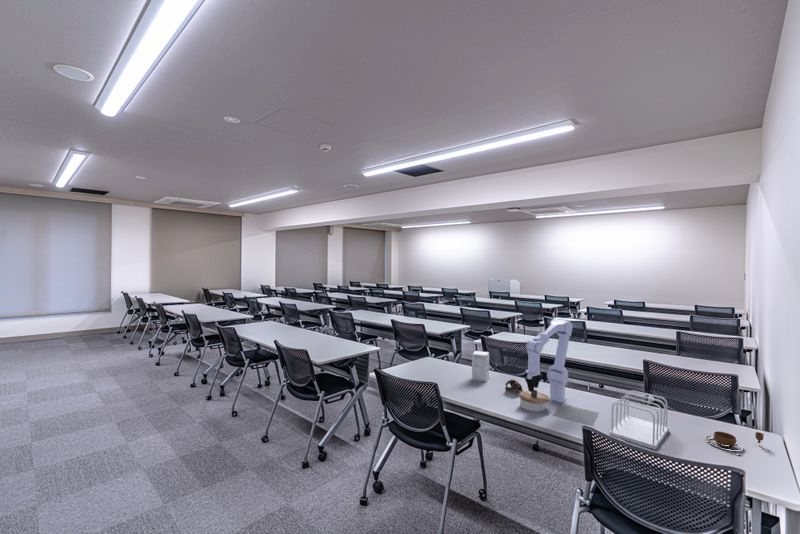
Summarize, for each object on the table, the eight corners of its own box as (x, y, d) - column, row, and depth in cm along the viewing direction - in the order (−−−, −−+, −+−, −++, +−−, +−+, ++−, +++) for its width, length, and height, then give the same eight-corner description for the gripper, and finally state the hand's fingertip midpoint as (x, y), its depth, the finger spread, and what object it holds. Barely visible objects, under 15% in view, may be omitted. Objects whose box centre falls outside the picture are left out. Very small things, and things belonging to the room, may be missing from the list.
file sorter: (626, 419, 181) (627, 387, 181) (669, 431, 168) (670, 397, 168) (608, 435, 164) (609, 400, 163) (655, 450, 151) (656, 413, 151)
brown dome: (526, 396, 210) (520, 385, 208) (510, 402, 212) (505, 391, 210) (520, 384, 221) (515, 373, 220) (505, 390, 223) (500, 379, 221)
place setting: (702, 434, 167) (702, 421, 167) (761, 446, 157) (762, 432, 157) (711, 451, 152) (711, 437, 152) (777, 465, 142) (778, 450, 142)
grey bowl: (525, 400, 202) (525, 391, 202) (547, 406, 195) (548, 397, 195) (517, 407, 192) (517, 398, 192) (541, 413, 185) (541, 404, 185)
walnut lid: (527, 390, 204) (527, 383, 204) (554, 398, 193) (554, 391, 193) (513, 397, 193) (513, 390, 193) (541, 405, 183) (541, 398, 182)
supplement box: (489, 377, 240) (489, 352, 240) (486, 382, 232) (487, 355, 232) (474, 375, 244) (475, 350, 244) (471, 379, 236) (471, 353, 236)
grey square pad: (561, 404, 197) (561, 404, 197) (599, 413, 187) (599, 412, 187) (552, 415, 183) (552, 415, 183) (592, 426, 172) (592, 425, 172)
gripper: (530, 359, 201) (529, 383, 202) (521, 365, 190) (520, 391, 190) (543, 361, 197) (543, 386, 197) (535, 367, 185) (534, 394, 186)
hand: (533, 389), depth 193 cm, fingers open, 7 cm apart
